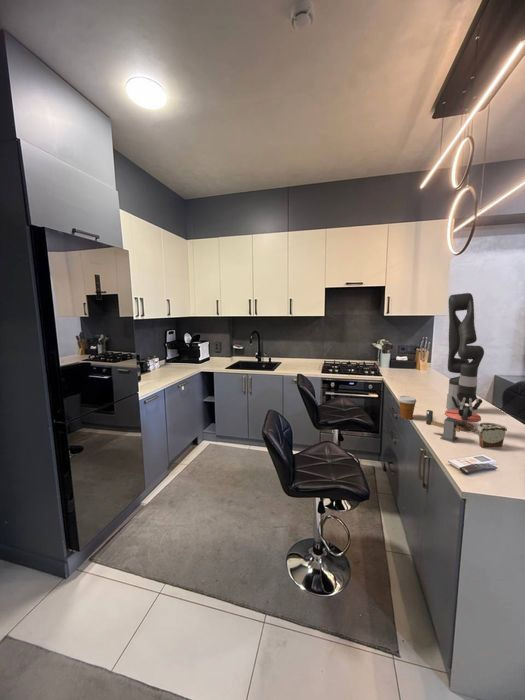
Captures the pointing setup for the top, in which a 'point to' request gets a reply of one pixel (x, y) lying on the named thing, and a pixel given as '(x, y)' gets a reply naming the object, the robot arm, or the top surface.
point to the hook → (430, 422)
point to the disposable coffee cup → (407, 406)
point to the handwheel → (463, 416)
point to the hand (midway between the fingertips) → (464, 416)
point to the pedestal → (465, 426)
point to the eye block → (449, 430)
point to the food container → (491, 435)
